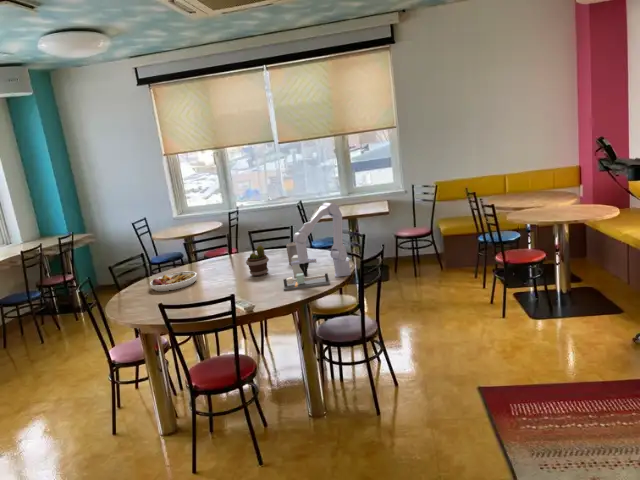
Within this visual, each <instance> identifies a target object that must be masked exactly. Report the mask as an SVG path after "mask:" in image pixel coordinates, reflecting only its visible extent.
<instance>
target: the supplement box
mask: <svg viewBox="0 0 640 480" xmlns="http://www.w3.org/2000/svg"><path fill="white" fill-rule="evenodd" d="M291 260H292V262H293V261H298V255H294V256H293V257H292V258H291ZM291 267H292V273H293V274H292V275H293V279H297V278H296V275H297V274H300V273H303V271H302V270H301V268H300V267H299V265H293V266H291ZM304 268H305V267H304ZM307 274H308V271H307ZM304 277H306V276H304Z"/></svg>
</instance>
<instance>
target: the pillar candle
mask: <svg viewBox="0 0 640 480" xmlns="http://www.w3.org/2000/svg"><path fill="white" fill-rule="evenodd" d="M285 246H286V252H287V258H288V264H289V265H290V266H291V262H292V260H291V258H292V257H293V256H294V255H297V249H296V242H295V241H292V242H289V243H287V244H286V245H285Z"/></svg>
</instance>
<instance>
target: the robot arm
mask: <svg viewBox="0 0 640 480" xmlns="http://www.w3.org/2000/svg"><path fill="white" fill-rule="evenodd" d="M325 216H330V217H331V218H332V232H333V233H332V234H333V237H332V238H333V245H332V246H331V251H330V253H329V254H330V257H331V258H332V260H333V267H334V278H338V277H346V276H347V277H348V276H351V275H352V274H351V271H352V269H351V266H350V265H351V264H350V259H349V258H348V259H347V257H348V252H347V249H346V246H345V245H344V242H343V241H344V239H343V237H344V236H343V233H344V232H343V214H342V211H341V210H340V206H339V205H338V204H337V203H336V202H327V201H326V202H322V204H321V205H320V206H319V208H318V210H317V211H316V212H315V214H314V215H313V217H311V219H310V221H307V222H304V223H303V225H302V227H300V229H298V232H295V233H294V234H293V238H292V239H293V242H296V249H297V255H298V261H293V262H291V265H290V266H291V267H292V266H293V265H299V267H300V268H301V270H302V271H303V273H304V276H305V277H308V273H307V272H308V269H309V264H312V263H313V264H314V263H316V264H317V258H309V255H308V249H307V248H308V247H307V243H306V242H307V241H308V237H309V236H310V234H311V233H312V232H313V231H314V229H315V225H317V223H318V222H319V221H320V220H321V219H322V218H323V217H325ZM304 267H305V268H304Z"/></svg>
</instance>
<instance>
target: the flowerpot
mask: <svg viewBox="0 0 640 480" xmlns="http://www.w3.org/2000/svg"><path fill="white" fill-rule="evenodd" d="M255 251H256V252H254V253H250V254H249V257H247V259H246V261H245V264H246V266H248V269H249V274H250V276H252V277H261V276H265V275H267V274H268V272H269V268H268V262H269V260H270V259H269V257H268V256H267V255H266V253H265V252H266V250H265V247H264V246H263V245H262V244H258V245H257V247H256V249H255Z"/></svg>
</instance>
